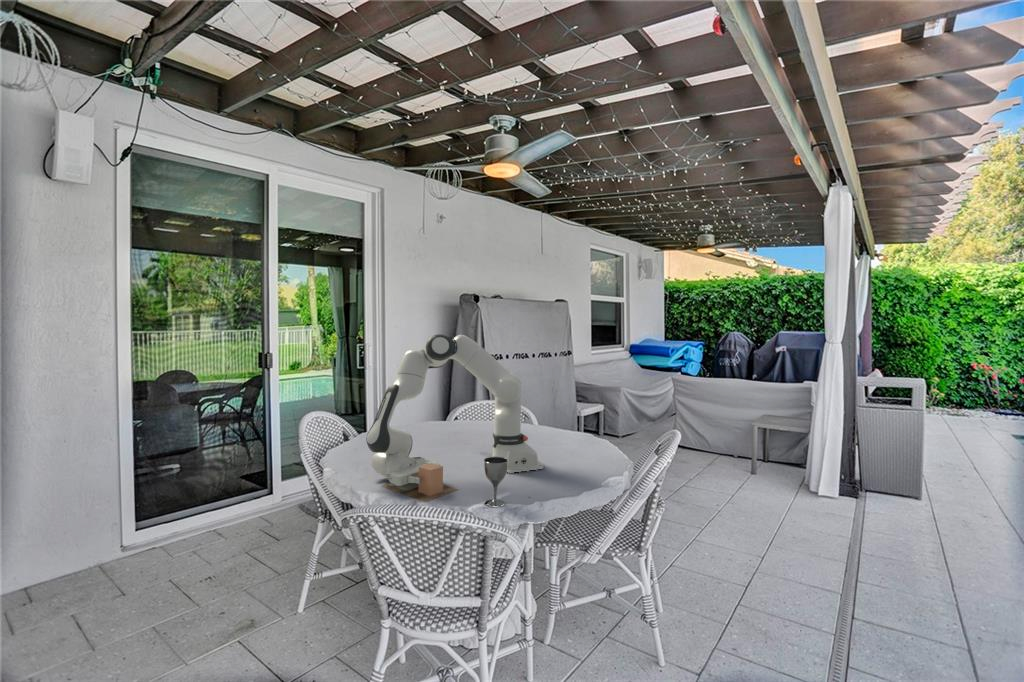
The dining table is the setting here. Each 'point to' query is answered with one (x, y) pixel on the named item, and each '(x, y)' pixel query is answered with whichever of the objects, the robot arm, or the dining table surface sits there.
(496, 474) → the wine glass
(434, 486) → the tall salmon pillar
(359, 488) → the dining table surface
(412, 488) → the board
